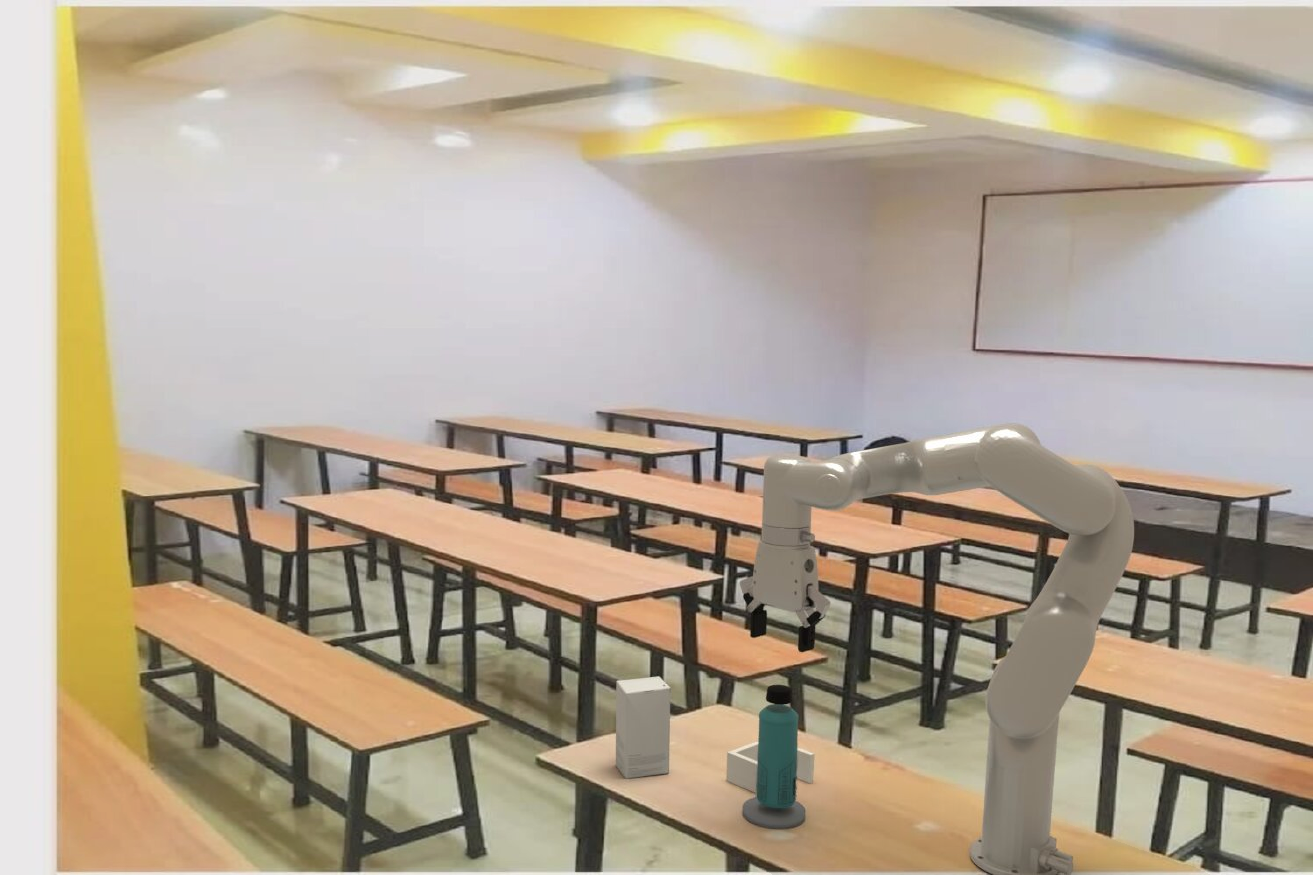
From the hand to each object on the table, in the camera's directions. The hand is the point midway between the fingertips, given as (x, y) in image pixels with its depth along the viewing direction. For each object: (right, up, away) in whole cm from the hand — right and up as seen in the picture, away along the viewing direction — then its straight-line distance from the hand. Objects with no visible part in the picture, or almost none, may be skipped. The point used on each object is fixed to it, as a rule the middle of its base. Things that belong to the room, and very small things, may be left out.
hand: (781, 643), depth 182 cm
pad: (-1, -28, +3) cm, 28 cm away
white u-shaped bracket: (0, -26, +16) cm, 31 cm away
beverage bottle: (-1, -27, +3) cm, 27 cm away
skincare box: (-22, -26, +20) cm, 39 cm away
